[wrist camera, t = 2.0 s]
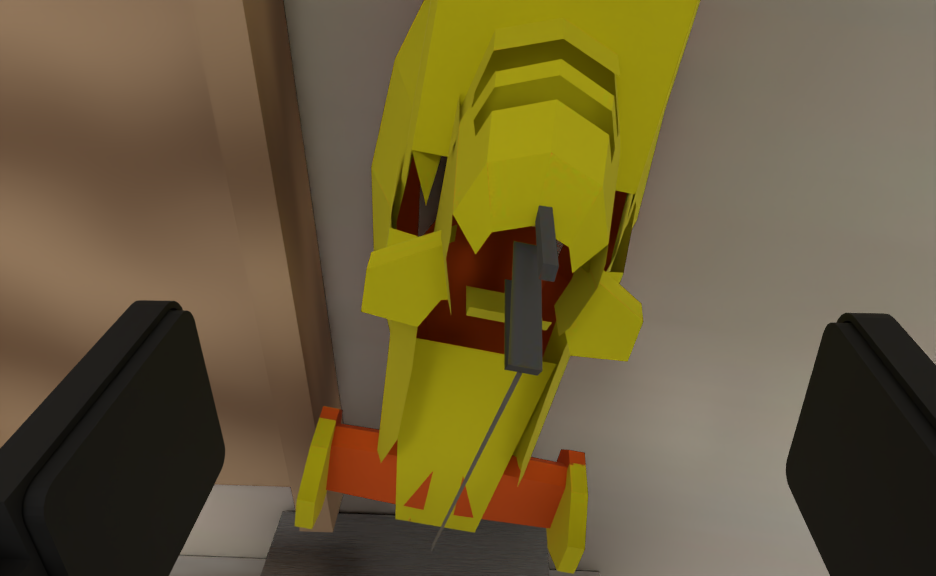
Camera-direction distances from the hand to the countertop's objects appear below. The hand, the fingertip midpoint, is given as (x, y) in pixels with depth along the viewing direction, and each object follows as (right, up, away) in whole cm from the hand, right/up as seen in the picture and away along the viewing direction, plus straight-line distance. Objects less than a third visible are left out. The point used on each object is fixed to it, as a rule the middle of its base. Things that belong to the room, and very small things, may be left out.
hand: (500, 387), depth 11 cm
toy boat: (+1, +5, +7) cm, 8 cm away
